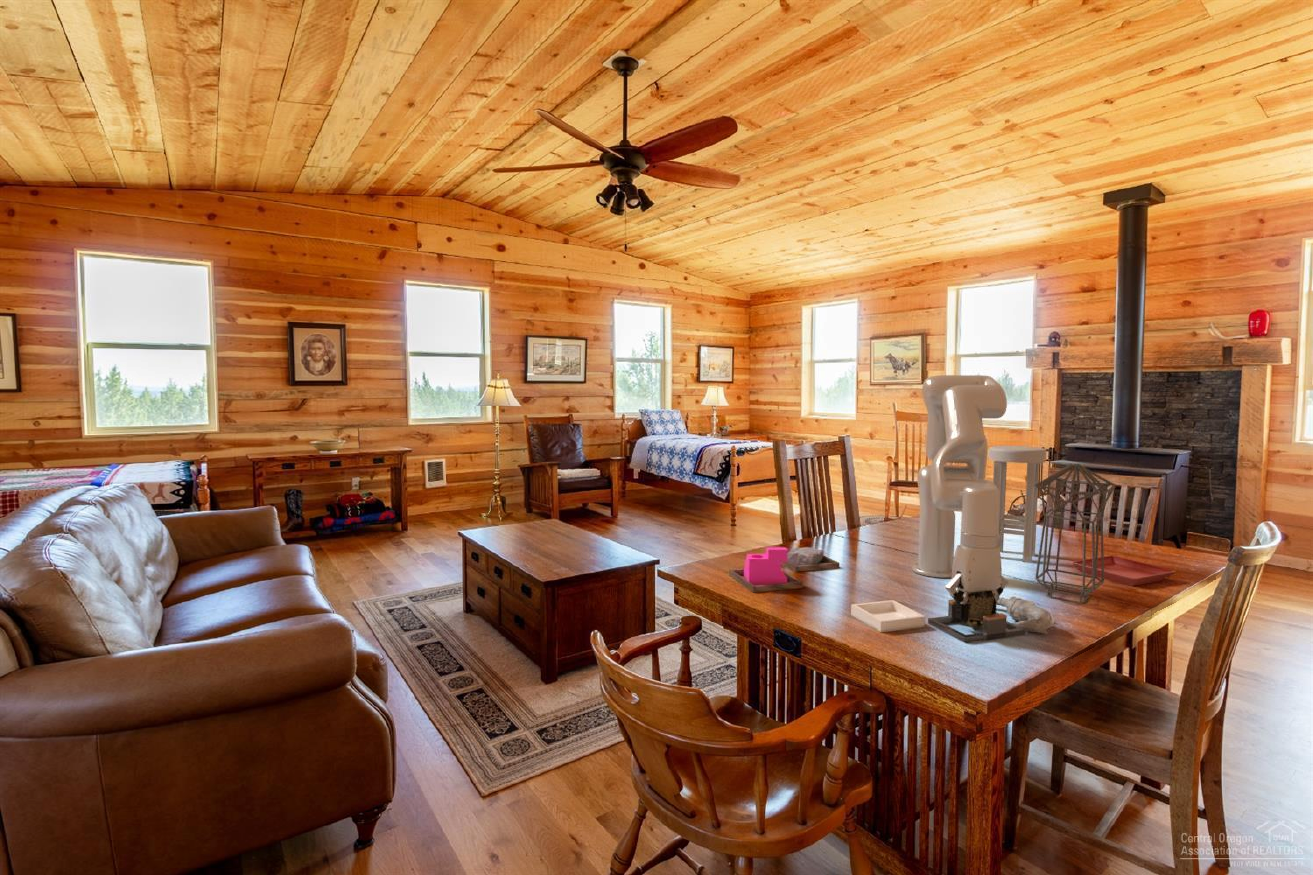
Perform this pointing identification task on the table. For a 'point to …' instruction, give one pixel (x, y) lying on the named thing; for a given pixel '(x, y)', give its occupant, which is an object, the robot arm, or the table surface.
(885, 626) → the tray
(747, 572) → the bracket
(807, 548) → the stone block
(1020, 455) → the stool
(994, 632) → the frame
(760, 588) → the brown wooden square tray
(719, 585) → the table surface
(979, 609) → the cup
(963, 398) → the robot arm
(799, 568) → the brown rectangular frame
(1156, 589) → the table surface
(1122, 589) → the table surface
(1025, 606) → the seahorse
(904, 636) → the table surface
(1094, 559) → the geometric lantern
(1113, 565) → the plant saucer
